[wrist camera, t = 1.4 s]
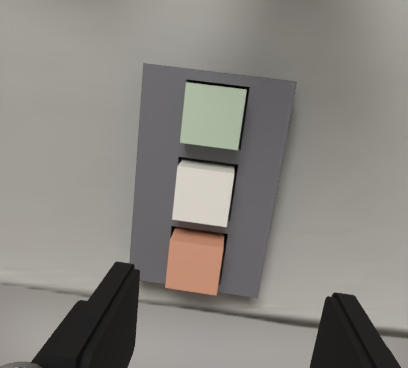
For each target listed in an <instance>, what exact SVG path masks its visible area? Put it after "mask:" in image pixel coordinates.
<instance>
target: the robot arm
mask: <svg viewBox="0 0 408 368" xmlns="http://www.w3.org/2000/svg"><path fill="white" fill-rule="evenodd" d="M139 281H140V270H139V269H135V266H134V264H130V263H123V262H115V263H114V265H113V266H112V268H111V269H110V270H109V272H108V273H107V275H106V276H105V277H104V279H103V280H102V282H101V283H100V284H99V286H98V287H97V289H96V290H95V291H94V293H93V294H92V296H91V297H90V298H89V300H88V301H83V300H80V301H78V302H77V303H76V304H75V305H74V306H73V308H72V309H71V311H70V312H69V313H68V314H67V316H66V317H65V318H64V320H63V321H62V322H61V323H60V325H59V326H58V327H57V329H56V330H55V331H54V333H53V334H52V335H51V337H50V338H49V339H48V341H47V342H46V343H45V344H44V346H43V347H42V348H41V350H40V351H39V352H38V354H37V355H36V356H35V358H34V359H33V360H32V362H14V363H9V364H5V365H3V366H0V368H127V367H128V365H129V362H130V360H131V357H132V354H133V351H134V347H135V338H136V323H137V309H138V295H139ZM310 368H401V367H400V365H399V364H398V362H397V361H396V359H395V357H394V356H393V354H392V353H391V351H390V350H389V349H388V347H386V345H385V343H384V341H383V340H382V338H381V337H380V335H379V333H378V332H377V330H376V329H375V327H374V325H373V324H372V322H371V321H370V319H369V318H368V316H367V314H366V313H365V311H364V310H363V308H362V306H361V305H360V303H359V302H358V300H357V298H356V297H355V296H354V295H349V294H342V293H333V295H332V297H329V296H328V297H326V299H325V303H324V308H323V312H322V316H321V321H320V325H319V329H318V334H317V338H316V342H315V347H314V351H313V355H312V360H311V364H310Z"/></svg>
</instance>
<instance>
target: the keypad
mask: <svg viewBox="0 0 408 368" xmlns="http://www.w3.org/2000/svg"><path fill="white" fill-rule="evenodd" d="M191 81H193V82H201V83H209V84H218V85H226V86H234V87H242V88H248V92H247V99H246V105H245V112H244V119H243V126H242V133H241V139H240V145H239V146H238V150H232V149H224V148H217V147H209V146H201V145H194V144H186V143H180V136H181V127H182V117H183V107H184V97H185V87H186V82H189V83H191ZM296 84H297V82H295V81H287V80H278V79H270V78H262V77H253V76H245V75H237V74H228V73H220V72H212V71H204V70H195V69H187V68H179V67H170V66H162V65H154V64H145V63H143V77H142V92H141V106H140V120H139V135H138V149H137V163H136V178H135V192H134V206H133V221H132V235H131V249H130V264H134V266H135V269H139V270H140V280H141V281H147V282H154V283H160V284H166V274H167V264H168V254H169V244H170V239H171V237H172V234H173V232H174V230H175V227H183V228H190V229H197V230H204V231H211V232H218V233H225V234H226V241H225V248H224V255H223V262H222V268H221V269H220V275H219V282H218V289H217V292H220V293H226V294H233V295H240V296H246V297H253V298H258V293H259V287H260V282H261V276H262V271H263V265H264V260H265V254H266V249H267V243H268V238H269V232H270V227H271V221H272V216H273V210H274V205H275V199H276V194H277V188H278V183H279V177H280V172H281V166H282V161H283V155H284V150H285V144H286V139H287V133H288V128H289V122H290V117H291V111H292V106H293V100H294V95H295V89H296ZM183 157H185V158H192V159H200V160H207V161H215V162H222V163H230V164H237V167H236V173H235V180H234V187H233V194H232V200H231V207H230V210H229V214H228V221H227V227H221V226H214V225H207V224H200V223H193V222H186V221H179V220H172V215H173V205H174V195H175V185H176V176H177V166H178V165H179V163H180V162H181V161H182V160H183Z"/></svg>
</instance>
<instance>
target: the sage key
mask: <svg viewBox="0 0 408 368" xmlns="http://www.w3.org/2000/svg"><path fill="white" fill-rule="evenodd" d="M246 92H247V90H246V89H238V88H229V87H221V86H213V85H205V84H197V83H189V82H186V87H185V97H184V107H183V117H182V127H181V136H180V143H186V144H194V145H201V146H209V147H217V148H224V149H232V150H238V146H239V139H240V133H241V126H242V119H243V112H244V105H245V98H246Z"/></svg>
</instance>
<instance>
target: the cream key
mask: <svg viewBox="0 0 408 368" xmlns="http://www.w3.org/2000/svg"><path fill="white" fill-rule="evenodd" d="M233 180H234V165H231V164H223V163H216V162H208V161H201V160H193V159H186V158H184V159H183V160H182V161H181V162H180V163H179V165H178V166H177V176H176V185H175V195H174V205H173V215H172V220H179V221H186V222H193V223H200V224H207V225H214V226H221V227H227V221H228V214H229V207H230V201H231V194H232V187H233Z"/></svg>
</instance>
